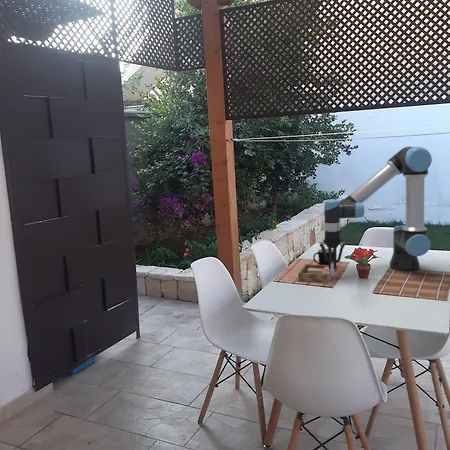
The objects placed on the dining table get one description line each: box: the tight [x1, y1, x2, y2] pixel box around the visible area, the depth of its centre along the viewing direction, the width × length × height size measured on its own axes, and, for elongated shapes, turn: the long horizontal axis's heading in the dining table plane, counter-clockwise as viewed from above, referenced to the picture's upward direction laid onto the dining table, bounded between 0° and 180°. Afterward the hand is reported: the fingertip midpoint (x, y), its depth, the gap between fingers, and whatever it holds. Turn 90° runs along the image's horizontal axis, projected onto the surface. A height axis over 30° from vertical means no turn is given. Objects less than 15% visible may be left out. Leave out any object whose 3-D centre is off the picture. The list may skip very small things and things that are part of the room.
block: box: [307, 267, 333, 282], centre depth 243 cm, size 12×12×4 cm
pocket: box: [297, 263, 329, 284], centre depth 244 cm, size 14×18×4 cm
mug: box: [312, 247, 334, 265], centre depth 259 cm, size 12×9×10 cm
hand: (332, 275), depth 241 cm, fingers closed
